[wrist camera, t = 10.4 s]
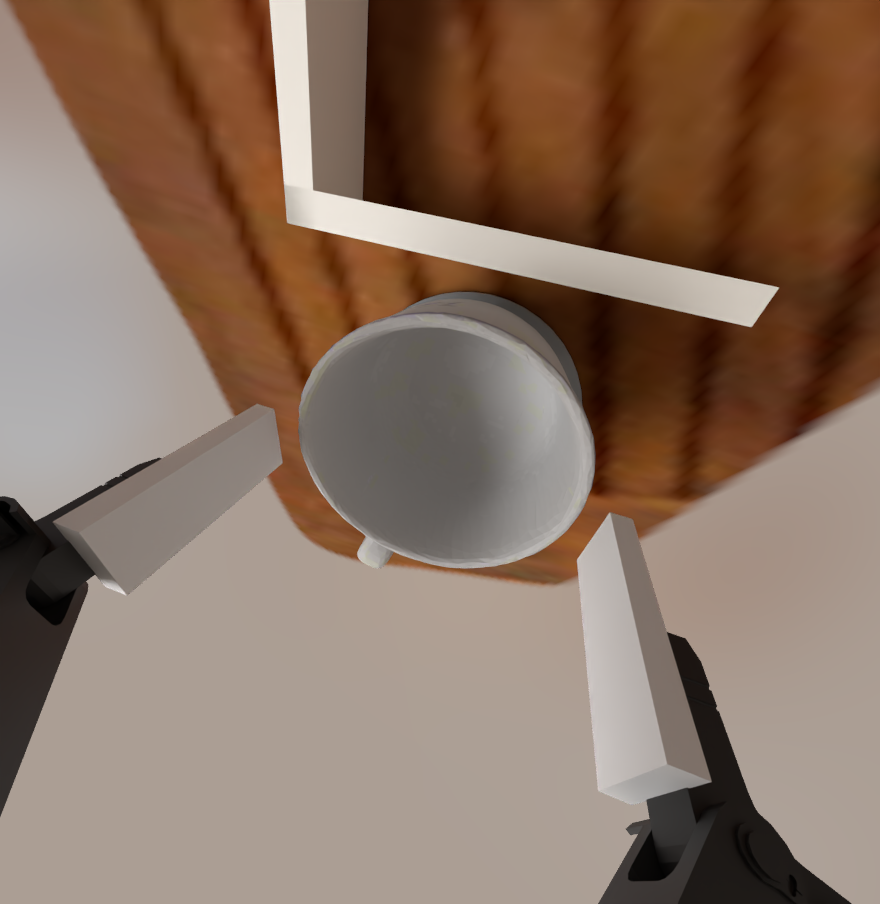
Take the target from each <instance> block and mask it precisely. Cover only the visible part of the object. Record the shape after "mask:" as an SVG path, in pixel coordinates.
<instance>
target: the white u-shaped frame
mask: <svg viewBox="0 0 880 904" xmlns="http://www.w3.org/2000/svg"><path fill="white" fill-rule="evenodd" d="M269 1H270V13H271V26H272V38H273V51H274V63H275V76H276V88H277V101H278V113H279V126H280V138H281V151H282V163H283V176H284V188H285V201H286V213H287V223H289V224H294V225H298V226H303V227H307V228H312V229H316V230H320V231H325V232H329V233H334V234H338V235H343V236H347V237H352V238H356V239H361V240H365V241H369V242H374V243H378V244H383V245H387V246H392V247H396V248H401V249H405V250H409V251H414V252H418V253H423V254H427V255H432V256H436V257H441V258H445V259H450V260H454V261H458V262H463V263H467V264H472V265H476V266H481V267H485V268H490V269H494V270H498V271H503V272H507V273H512V274H516V275H521V276H525V277H530V278H534V279H539V280H543V281H547V282H552V283H556V284H561V285H565V286H570V287H574V288H579V289H583V290H587V291H592V292H596V293H601V294H605V295H610V296H614V297H619V298H623V299H628V300H632V301H636V302H641V303H645V304H650V305H654V306H659V307H663V308H668V309H672V310H676V311H681V312H685V313H690V314H694V315H699V316H703V317H708V318H712V319H717V320H721V321H725V322H730V323H734V324H739V325H743V326H748V327H752V326H753V324H754V323H755V322H756V320H757V319H758V317H759V316H760V314H761V313H762V312H763V310H764V309H765V307H766V306H767V304H768V303H769V302H770V300H771V299H772V297H773V296H774V294H775V293H776V292H777V290H778V289H779V287H774V286H770V285H765V284H760V283H755V282H750V281H746V280H741V279H736V278H731V277H726V276H722V275H717V274H712V273H707V272H702V271H698V270H693V269H688V268H683V267H678V266H674V265H669V264H664V263H659V262H654V261H650V260H645V259H640V258H635V257H630V256H626V255H621V254H616V253H611V252H606V251H602V250H597V249H592V248H587V247H582V246H578V245H573V244H568V243H563V242H558V241H554V240H549V239H544V238H539V237H534V236H530V235H525V234H520V233H515V232H510V231H506V230H501V229H496V228H491V227H486V226H482V225H477V224H472V223H467V222H462V221H458V220H453V219H448V218H443V217H438V216H434V215H429V214H424V213H419V212H414V211H410V210H405V209H400V208H395V207H390V206H386V205H381V204H376V203H371V202H366V201H363V169H364V134H365V99H366V64H367V29H368V0H269Z"/></svg>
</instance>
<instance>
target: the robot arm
mask: <svg viewBox="0 0 880 904" xmlns="http://www.w3.org/2000/svg"><path fill="white" fill-rule="evenodd" d="M281 464H282V456H281V450H280V444H279V437H278V431H277V425H276V418H275V412H274V409H272V408H269V407H265V406H262V405H259V404H256V405H254V406H253V407H251V408H249V409H247V410H246V411H244V412H242V413H241V414H239V415H237V416H235V417H234V418H232V419H230V420H228V421H227V422H225V423H223V424H221V425H220V426H218V427H216V428H214V429H213V430H211V431H209V432H208V433H206V434H204V435H202V436H201V437H199V438H197V439H195V440H194V441H192V442H190V443H188V444H187V445H185V446H183V447H181V448H180V449H178V450H176V451H175V452H173V453H171V454H169V455H168V456H166V457H164V458H162V459H161V458H157V459H154V460H151V461H148V462H145V463H142V464H139V465H137V466H135V467H133V468H131V469H129V470H128V471H126V472H124V473H122V474H121V475H120V477H115V478H113V479H111V480H110V481H108V482H106V483H105V485H104V486H102V485H101V486H99V487H97V488H95V489H94V490H92V491H90V492H88V493H86V494H85V495H83V496H81V497H79V498H77V499H76V500H74V501H72V502H70V503H68V504H67V505H65V506H63V507H61V508H60V509H58V510H56V511H54V512H52V513H50V514H49V515H47V516H45V517H43V518H41V519H39V520H37V521H35V522H34V521H33V519H32V518H31V517H30V516H29V515H28V514H27V513H26V511H25V510H24V509H23V508H22V507H21V506H20V504H19V503H18V502H17V501H16V500H15V499H13V498H9V497H5V496H4V497H3V496H2V497H0V816H1V813H2V811H3V808H4V806H5V803H6V801H7V798H8V795H9V793H10V790H11V788H12V785H13V782H14V779H15V777H16V775H17V772H18V770H19V767H20V764H21V762H22V759H23V757H24V754H25V752H26V749H27V746H28V744H29V741H30V739H31V736H32V733H33V731H34V728H35V726H36V723H37V721H38V718H39V716H40V713H41V710H42V708H43V705H44V702H45V700H46V697H47V695H48V692H49V690H50V687H51V684H52V682H53V679H54V677H55V674H56V672H57V669H58V667H59V664H60V661H61V659H62V656H63V654H64V651H65V649H66V646H67V643H68V641H69V638H70V636H71V633H72V630H73V628H74V625H75V623H76V620H77V618H78V615H79V612H80V610H81V607H82V604H83V602H84V599H85V597H86V594H87V592H88V584H87V582H86V581H87V580H88V579H90V578H91V577H92V576H94V575H96V576H97V577H98V579H99V580H100V581H101V582H102V584H103V585H104V586H105V587H107V588H110V589H112V590H115V591H117V592H120V593H122V594H124V595H128V594H130V593H131V592H132V591H133V590H134V589H136V588H137V587H138V586H139V585H140V584H141V583H142V582H144V581H145V580H146V579H147V578H148V577H149V576H151V575H152V574H153V573H154V572H155V571H157V570H158V569H159V568H160V567H161V566H162V565H164V564H165V563H166V562H167V561H168V560H170V558H172V557H173V556H174V555H175V554H176V553H178V552H179V551H180V550H181V549H182V548H183V547H185V546H186V545H187V544H188V543H189V542H191V541H192V540H193V539H194V538H195V537H196V536H197V535H199V534H200V533H201V532H202V531H203V530H205V529H206V528H207V527H208V526H209V525H210V524H212V523H213V522H214V521H215V520H216V519H218V518H219V517H220V516H221V515H222V514H223V513H225V512H226V511H227V510H228V509H229V508H230V507H232V506H233V505H234V504H235V503H236V502H237V501H239V500H240V499H241V498H242V497H243V496H244V495H246V494H247V493H248V492H249V491H250V490H251V489H253V488H254V487H255V486H256V485H257V484H258V483H260V482H261V481H262V480H263V479H264V478H266V477H267V476H268V475H269V474H270V473H271V472H273V471H274V470H275V469H276V468H277V467H278V466H280V465H281ZM577 565H578V576H579V587H580V598H581V609H582V620H583V631H584V641H585V652H586V664H587V675H588V686H589V696H590V707H591V718H592V729H593V740H594V751H595V762H596V773H597V784H598V791H599V792H601V793H604V794H606V795H609V796H611V797H614V798H616V799H619V800H621V801H623V802H626V803H628V804H630V805H634V804H638V803H641V802H645V801H647V806H648V812H649V818H650V819H648V820H644V821H639V822H635V823H632V824H631V825H630V826H629V827H627V829H626V830H627V831H628V833H629V834H630V835H633V834H638V835H637V837H636V839H635V841H634V842H633V844H632V846H631V848H630V849H629V851H628V853H627V855H626V856H625V858H624V860H623V862H622V863H621V865H620V867H619V868H618V870H617V872H616V874H615V876H614V877H613V879H612V881H611V882H610V884H609V886H608V888H607V889H606V891H605V893H604V895H603V897H602V898H601V900H600V902H599V903H598V904H851V903H850V902H849V901H847V900H846V899H845V898H844V897H842V896H841V895H840V894H838V893H837V892H836V891H835V890H833V889H832V888H831V887H829V886H828V885H827V884H825V883H824V882H823V881H822V880H820V879H819V878H817V877H816V876H815V875H814V874H812V873H811V872H810V871H809V870H807V869H806V868H805V867H803V866H802V865H801V864H800V863H799V862H798V861H797V860H795V859H794V857H793V855H792V853H791V852H790V850H789V848H788V846H787V845H786V844H785V842H784V841H783V839H782V838H781V837H780V835H779V834H778V833H777V832H776V831H775V829H774V828H773V827H772V825H771V824H770V823H769V822H768V821H766V820H765V819H764V818H763V817H762V816H761V815H760V814H759V813H758V812H757V810H756V809H755V807H754V805H753V802H752V800H751V798H750V796H749V793H748V791H747V788H746V785H745V783H744V780H743V777H742V775H741V772H740V769H739V766H738V763H737V760H736V758H735V755H734V752H733V749H732V747H731V744H730V741H729V738H728V735H727V733H726V730H725V727H724V724H723V722H722V719H721V716H720V713H719V711H717V710H716V707H717V705H716V702H715V700H714V697H713V694H712V691H710V690H709V683H708V680H707V677H706V675H705V672H704V669H703V666H702V663H701V661H700V660H699V658H698V657H697V655H696V654H695V652H694V651H693V649H692V648H691V646H690V645H689V643H688V642H687V640H686V639H685V638H682V637H679V636H676V635H674V634H671V633H668V632H667V631H666V628H665V625H664V622H663V618H662V615H661V612H660V608H659V605H658V602H657V598H656V595H655V592H654V588H653V585H652V582H651V579H650V575H649V572H648V569H647V565H646V562H645V559H644V555H643V552H642V549H641V545H640V542H639V539H638V535H637V532H636V529H635V525H634V522H633V519H630V518H627V517H624V516H620V515H617V514H614V513H611V512H610V513H609V514H608V516H607V517H606V519H605V520H604V522H603V523H602V525H601V526H600V527H599V529H598V530H597V532H596V533H595V535H594V536H593V538H592V539H591V540H590V542H589V543H588V545H587V546H586V548H585V549H584V551H583V552H582V553H581V555H580V556H579V558H578V559H577Z"/></svg>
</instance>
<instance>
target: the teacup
mask: <svg viewBox="0 0 880 904" xmlns="http://www.w3.org/2000/svg"><path fill="white" fill-rule="evenodd" d="M299 414H300V416H299V429H298V433H299V439H300V446H301V451H302V454H303V458H304V460H305V463H306V465H307V467H308V470H309V472H310V474H311V476H312V478H313V480H314V482H315V484H316V485H317V487H318V489H319V490H320V492H321V493H322V495H323V496H324V497H325V498H326V499H327V501H328V502H329V503H330V505H331V506H332V507H333V508H334V509H335V510H336V511H337V512H338V513H339V514H340V515H341V516H342V517H343V518H344V519H345V520H346V521H347V522H349V523H350V524H351V525H353V526H354V527H355V528H356V529H358V530H359V531H360V532H362V533H363V534H364V535H365V536H366V537H365V539H364V541H363V543H362V544H361V546H360V548H359V550H358V558H359V559H360V560H361V561H362V562H363V563H365V564H367V565H369V566H371V567H373V568H382V567H383V566H384V565H385V564H386V563H387V562H388V560H389V559H390V557H391V556H392V554H393V552H396V553H398V554H400V555H403V556H406V557H409V558H412V559H415V560H419V561H422V562H425V563H429V564H434V565H438V566H443V567H450V568H481V567H490V566H498V565H502V564H507V563H511V562H514V561H517V560H520V559H522V558H524V557H527V556H530V555H533V554H535V553H537V552H539V551H540V550H542V549H544V548H546V547H547V546H548V545H550V544H551V543H552V542H554V541H555V540H556V539H558V538H559V537H560V536H561V535H562V534H564V533H565V532H566V531H567V530H568V529H569V527H570V526H571V525H572V524H573V522H574V521H575V520H576V518H577V517H578V516H579V514H580V512H581V511H582V509H583V507H584V505H585V503H586V500H587V497H588V495H589V492H590V490H591V487H592V483H593V478H594V471H595V446H594V437H593V434H592V431H591V428H590V425H589V422H588V419H587V416H586V414H585V412H584V409H583V407H582V405H581V402H580V400H579V398H578V397H577V395H576V394H575V392H574V391H573V389H572V388H571V385H570V382H569V380H568V378H567V375H566V373H565V371H564V369H563V367H562V365H561V363H560V361H559V359H558V357H557V356H556V354H555V353H554V351H553V350H552V348H551V347H550V345H549V344H548V343H547V342H546V340H545V339H544V338H543V337H542V336H541V335H540V334H539V333H538V332H537V330H535V329H534V328H533V327H532V326H531V325H529V324H528V323H527V322H525V321H524V320H523V319H521V318H520V317H518V316H516V315H515V314H513V313H511V312H509V311H507V310H505V309H503V308H501V307H498V306H496V305H493V304H490V303H486V302H482V301H476V300H470V299H444V300H435V301H431V302H427V303H423V304H420V305H416V306H413V307H411V308H408V309H406V310H403V311H401V312H399V313H397V314H395V315H392V316H389V317H386V318H383V319H379V320H376V321H374V322H371V323H369V324H366V325H364V326H362V327H360V328H358V329H356V330H355V331H353V332H351V333H350V334H348V335H346V336H345V337H343V338H342V339H341V340H340V341H339V342H337V343H336V344H334V345H333V346H332V347H331V348H330V349H329V350H328V352H327V353H326V354H325V355H324V356H323V357H322V358H321V359H320V360H319V362H318V363H317V365H316V366H315V367H314V368H313V369H312V372H311V375H310V377H309V379H308V381H307V383H306V385H305V387H304V390H303V392H302V395H301V403H300V406H299Z"/></svg>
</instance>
